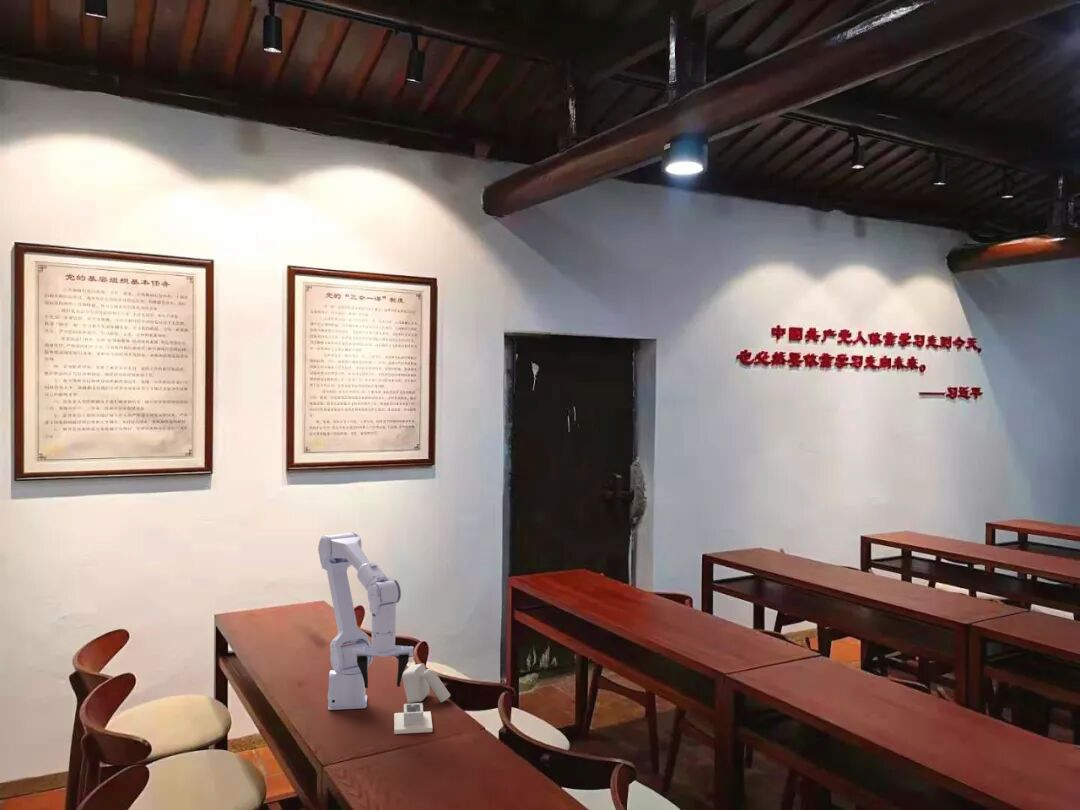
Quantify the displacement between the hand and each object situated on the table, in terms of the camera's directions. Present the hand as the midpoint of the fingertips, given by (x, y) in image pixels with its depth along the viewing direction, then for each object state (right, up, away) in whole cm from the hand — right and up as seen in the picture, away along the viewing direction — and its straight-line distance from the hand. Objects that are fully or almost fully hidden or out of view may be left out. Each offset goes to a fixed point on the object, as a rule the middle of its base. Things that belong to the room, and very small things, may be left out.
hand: (382, 686), depth 197 cm
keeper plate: (+7, -10, +1) cm, 12 cm away
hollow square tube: (+7, -9, 0) cm, 11 cm away
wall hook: (+9, -10, +16) cm, 21 cm away
